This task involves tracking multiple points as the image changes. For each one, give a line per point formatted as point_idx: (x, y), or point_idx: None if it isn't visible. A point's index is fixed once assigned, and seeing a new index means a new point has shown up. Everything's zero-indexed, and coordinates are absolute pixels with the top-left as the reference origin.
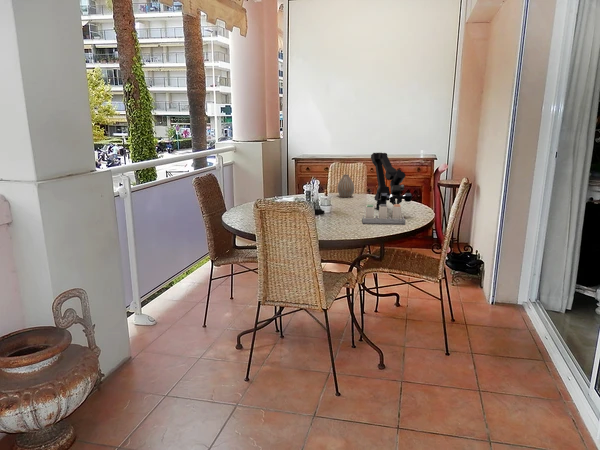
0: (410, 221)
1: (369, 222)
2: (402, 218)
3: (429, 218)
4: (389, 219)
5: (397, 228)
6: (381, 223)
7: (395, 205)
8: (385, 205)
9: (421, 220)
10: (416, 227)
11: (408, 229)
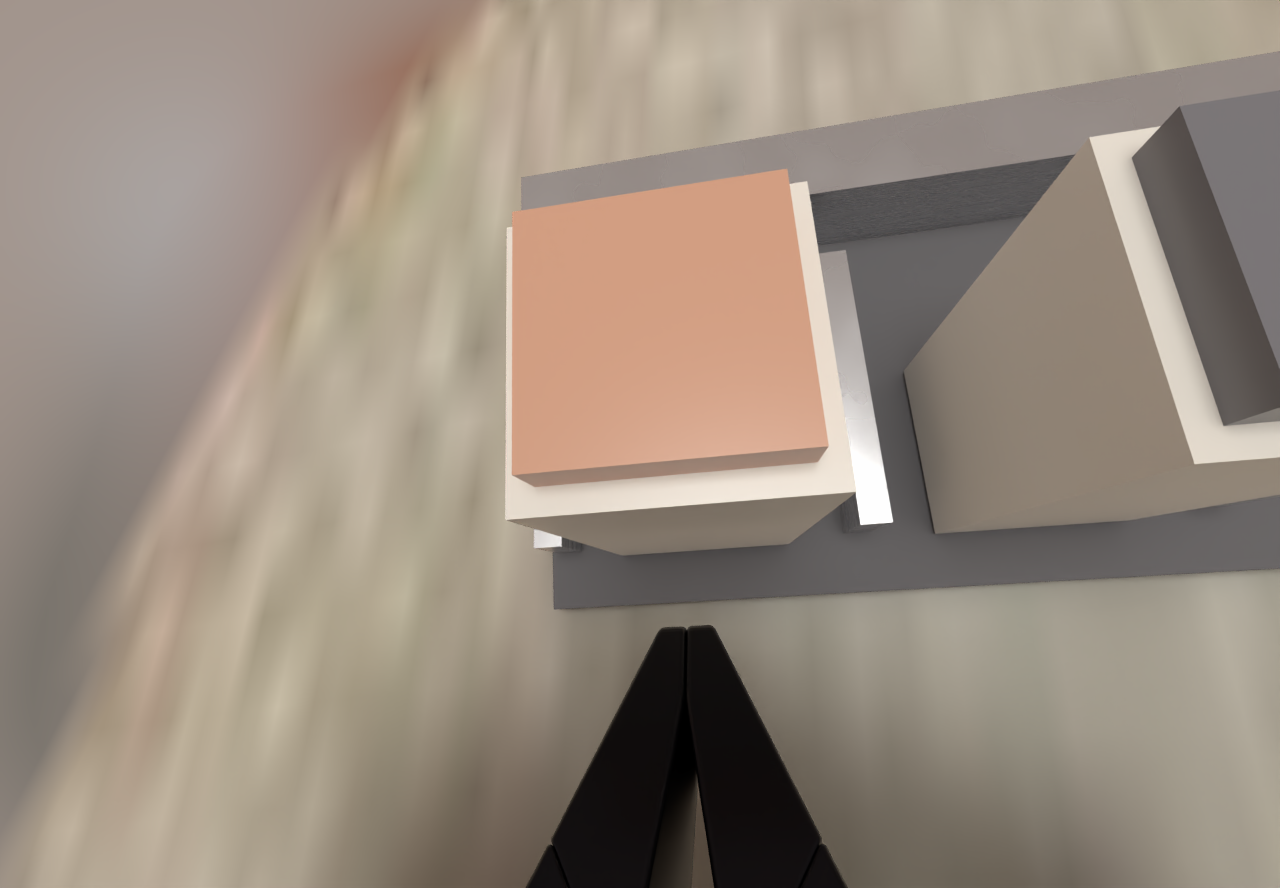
0: (434, 507)
1: None
2: None
3: (33, 834)
4: (847, 127)
5: (688, 12)
6: None
7: (732, 177)
8: (1243, 103)
9: (225, 623)
10: (412, 131)
11: (537, 7)
